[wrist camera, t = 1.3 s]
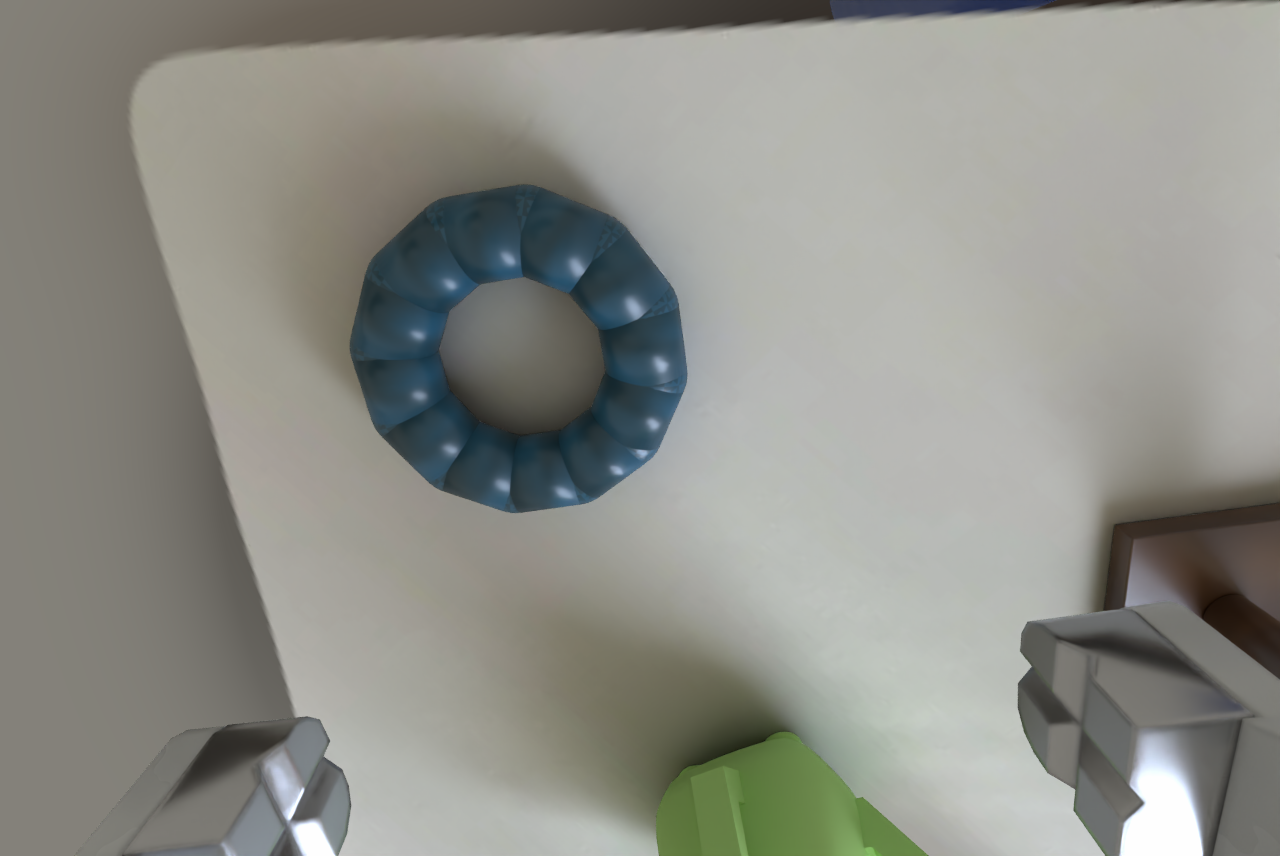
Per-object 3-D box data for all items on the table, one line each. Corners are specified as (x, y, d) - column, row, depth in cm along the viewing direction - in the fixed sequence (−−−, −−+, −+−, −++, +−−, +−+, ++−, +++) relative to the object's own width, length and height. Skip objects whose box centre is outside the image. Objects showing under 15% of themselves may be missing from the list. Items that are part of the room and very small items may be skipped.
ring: (330, 216, 24) (290, 222, 21) (658, 161, 23) (660, 161, 21) (420, 506, 28) (396, 543, 26) (699, 467, 28) (705, 501, 25)
